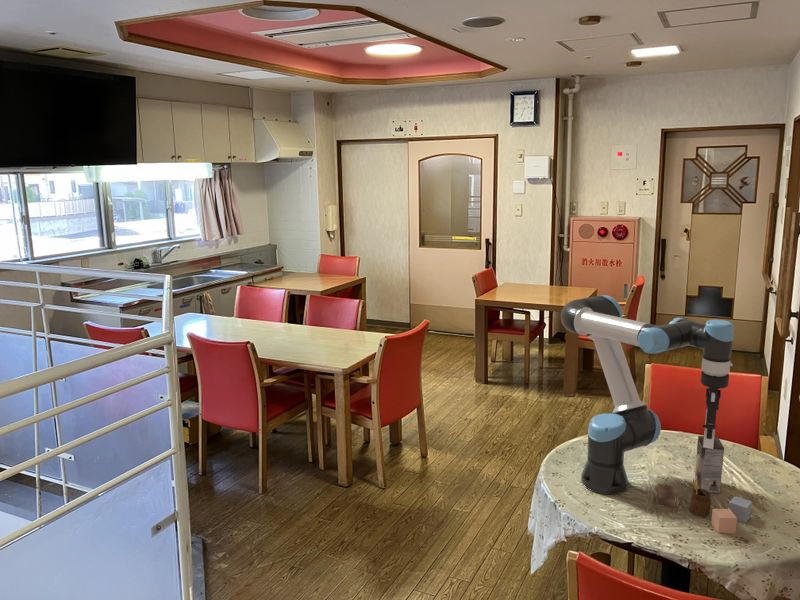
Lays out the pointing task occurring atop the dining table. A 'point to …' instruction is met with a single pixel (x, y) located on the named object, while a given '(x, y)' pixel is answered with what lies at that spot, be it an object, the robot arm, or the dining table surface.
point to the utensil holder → (700, 501)
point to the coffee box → (709, 465)
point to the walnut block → (666, 495)
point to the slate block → (741, 508)
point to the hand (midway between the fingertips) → (708, 438)
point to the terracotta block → (724, 520)
